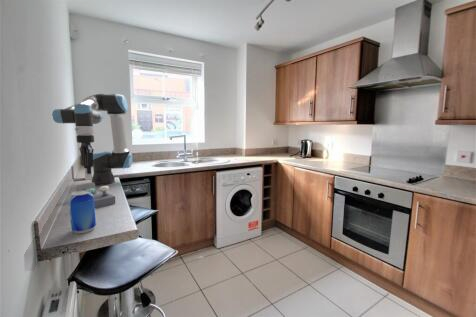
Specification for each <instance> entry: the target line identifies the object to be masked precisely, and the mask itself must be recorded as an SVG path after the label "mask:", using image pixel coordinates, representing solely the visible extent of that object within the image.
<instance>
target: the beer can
mask: <svg viewBox="0 0 476 317" xmlns="http://www.w3.org/2000/svg"><path fill="white" fill-rule="evenodd" d="M68 206H69V215H70V216H69V217H70V226H71V231H73V233H75V234H77V233H78V234H86V233H89V232H92V231H93V230H94V229H95V227H96V226H97V221H96V208H95V206H94V196H93V195H92V194H91V191H89V190H82V191H77V190H76V191H73V192H71V194H70V197H69V198H68ZM91 230H92V231H91Z"/></svg>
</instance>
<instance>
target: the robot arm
mask: <svg viewBox="0 0 476 317" xmlns="http://www.w3.org/2000/svg"><path fill="white" fill-rule="evenodd" d="M128 111H129V105H128V101H127V98H126V97H125V95H123V94H119V93H118V94H117V93H97V94H92V95H90V96H87V97H84V98H83V99H82V101H79V102H78V103H75V104H73V105H70V106H68V107H66V108H63V109H62V108H57V109H56V108H55V109H53V110H52V113H51V114H52V115H51V116H53V117H52V120H53V121H54V122H55V123H56V124H75V128H74V131H75V134H76V137H75V138H76V142H77V143H78V144H79V143H80V147H79V148H78V149H79V152H80V157H81V163H82V167H83V168H84V170H83V171H84V180H85V181H91V183H95V186H98V184H104V185H109V184H108V183H110V184H113V183H115V182H114V181H116V179H115V177H114V174H113V171H112V170H113V169H130V168H131V167H132V164H133V153H132V152H130V150H129V149H128V148H127V138H126V126H125V115H126V112H128ZM101 112H106V114H107V115H108V116H109V118H110V128H111V134H112V143H113V145H112V146H113V149H112V151H110V150H107V151H100V152H98V151H97V152H95V153H94V148H92V147H93V146H92V145H91V143H94V142H95V136H94V135H95V132H94V125H97V124H100V123H101V122H102V120H103V119H104V118H103V114H102V113H101ZM92 169H93V170H92ZM92 171H93V172H92ZM92 173H93V174H92ZM112 182H113V183H112Z"/></svg>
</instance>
